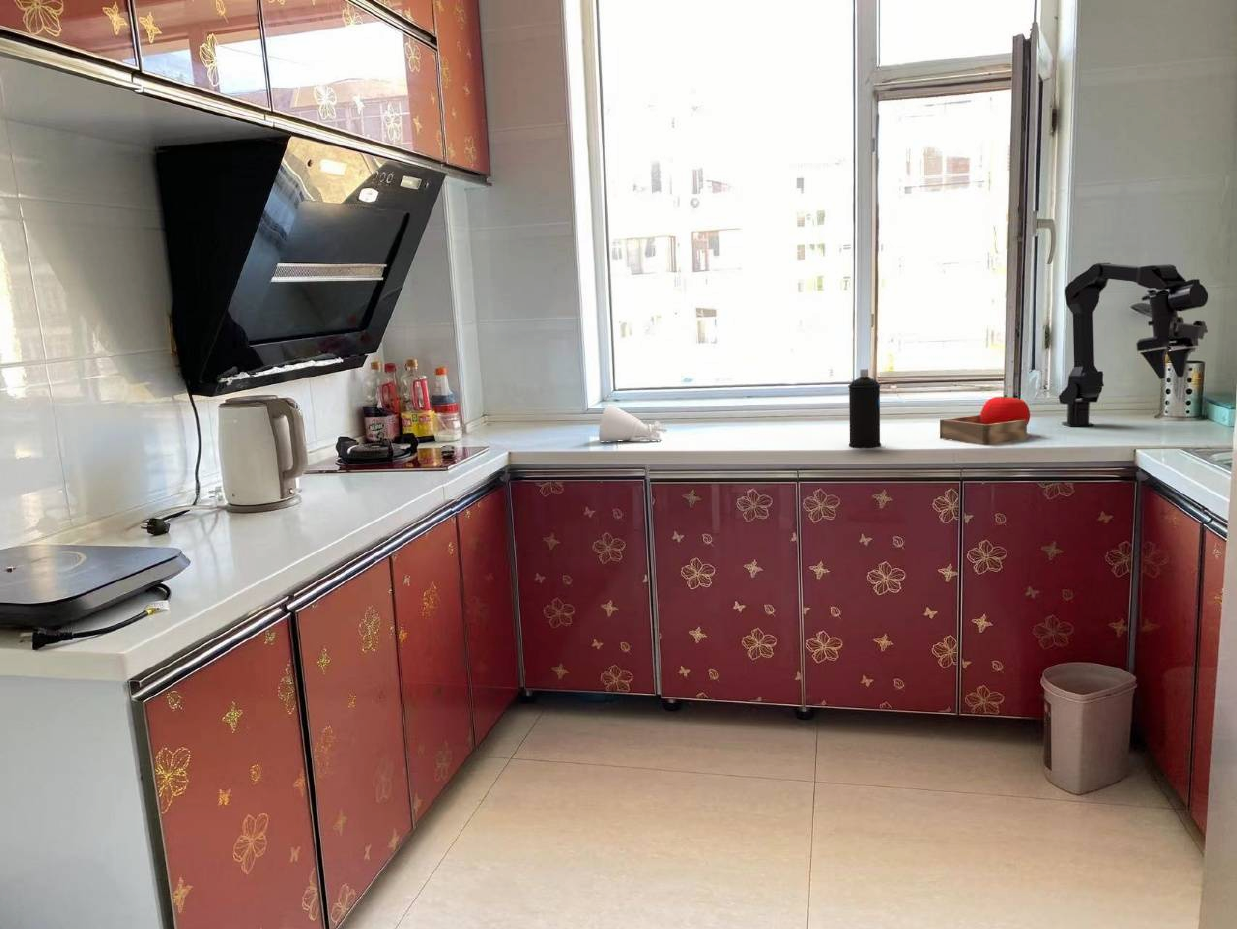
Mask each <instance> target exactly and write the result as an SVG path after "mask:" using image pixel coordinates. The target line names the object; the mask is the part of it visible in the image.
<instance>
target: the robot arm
mask: <svg viewBox="0 0 1237 929" xmlns="http://www.w3.org/2000/svg"><path fill="white" fill-rule="evenodd" d="M1109 280H1114V281H1115V280H1117V281H1124V282H1126V281H1127V282H1132V283H1136V284H1137V285H1138V286H1140V287H1143V288H1145V289H1148V290H1147V291H1146V293H1145V294H1144V295H1142V297H1141V300H1142V301H1148V302H1149V306H1150V307H1149V308H1150V317H1151V320H1149V321H1147V322H1148V324H1147V325H1148V326H1151V327H1152V335H1153V336H1152V337H1151V336H1150V337H1145V338H1140V339H1138V341H1137V342H1136V344H1135V345H1136V351H1137V352H1139V353H1140V355H1142V356H1143V357H1144V359H1145V360H1146V362H1148V364H1149V366H1150V367H1151V368H1152V370H1153V371H1154V373H1155V374H1156V377H1157V378H1158V379H1161V380H1162V379H1165V376H1166V375H1165V374H1166V355H1167V356H1168V359H1169V361H1170V363H1171V365H1172V367H1173V370H1174V372H1175V374H1176V376H1177V378H1183V377H1184V375H1185V369H1186V365H1187V362H1188V359H1189V355H1190V354H1191V353H1192V352H1193V351H1195V350H1196V347H1198V346H1199V339H1200V340H1204V336H1205V335H1206V334H1207V333H1208V332H1209V330H1208V326H1207V324H1206V321H1204V320H1195V321H1194V322H1193V323H1186V322H1184V318H1183V317H1182V316H1179V314H1178V312H1184V311H1190V310H1193V309H1198V308H1202V307H1204V306H1206V304H1207V303H1208V299H1209V291H1207V289H1206V287H1205V286H1204V285H1202V284H1201V281H1200V279H1199V278H1196V279H1190V280H1186V279H1185V278H1184V277H1183V276H1182V275H1181V274H1180V273H1179V271H1178V269H1177V266H1175V264H1168V263H1167V264H1150V265H1143V266H1142V265H1141V266H1138V265H1137V266H1136V265H1128V264H1118V263H1116V264H1115V263H1111V262H1097V263H1094V264H1092V265H1091V266H1090V267H1089V268H1088V269H1087V270H1086V271H1084V272H1082V273H1081V274H1079V275H1078V276H1076V277H1075V278H1074V279H1073V280H1072V281H1070V282H1069V283H1068V284H1067V286H1065V288H1064V297H1065V304H1066V306H1067V308H1068V310H1070V313H1071V314H1072V336H1073V338H1072V340H1073V344H1072V345H1073V368H1072V369H1071V371H1070V373H1069V375H1068V377H1067V385H1066V387H1065V388H1064V390H1063V391H1061V393H1060V394H1059V396H1058V399H1059V403H1060V404H1061V405H1066V421H1062V422H1061V424H1062V425H1066V426H1068V427H1089V426H1091V427H1092V426H1095V423H1092V422H1090V409H1091V403H1097V402H1098V400H1099V397H1100V393H1102V390H1103V387H1104V386H1105V385H1104V382H1103V379H1104V378H1103V377H1104V374H1103V371H1101V370H1100V371H1099V370H1098V369H1097V368H1096V366H1095V359H1094V358H1095V355H1094V354H1095V350H1094V344H1095V343H1094V311H1095V309H1096V308H1097V306H1098V304H1099V302H1100V293H1102V291H1103V290H1105V289H1106V287H1107V285H1108V281H1109Z"/></svg>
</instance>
